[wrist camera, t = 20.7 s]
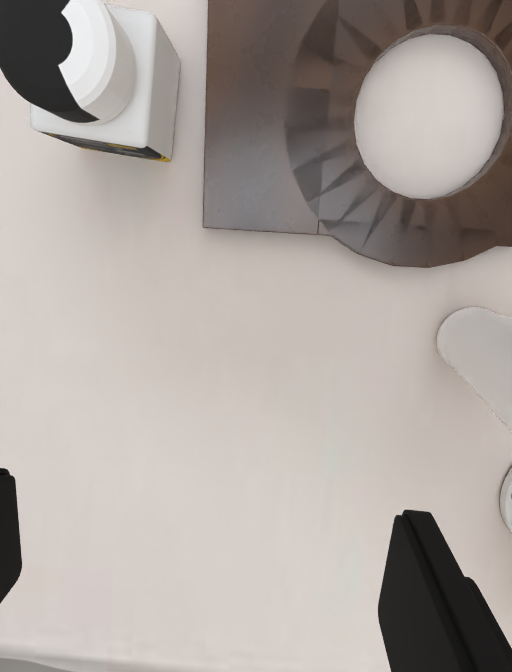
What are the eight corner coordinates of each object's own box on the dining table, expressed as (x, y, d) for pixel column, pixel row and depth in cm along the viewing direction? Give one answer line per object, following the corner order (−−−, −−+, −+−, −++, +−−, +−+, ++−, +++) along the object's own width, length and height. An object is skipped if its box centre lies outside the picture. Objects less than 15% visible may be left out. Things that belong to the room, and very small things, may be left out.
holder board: (611, -44, 28) (629, -58, 26) (536, 273, 33) (548, 275, 32) (213, -64, 28) (210, -79, 27) (204, 252, 34) (202, 253, 32)
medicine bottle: (79, 148, 32) (-28, 107, 21) (83, 41, 30) (-32, -70, 19) (172, 163, 32) (117, 131, 21) (182, 57, 30) (127, -42, 19)
